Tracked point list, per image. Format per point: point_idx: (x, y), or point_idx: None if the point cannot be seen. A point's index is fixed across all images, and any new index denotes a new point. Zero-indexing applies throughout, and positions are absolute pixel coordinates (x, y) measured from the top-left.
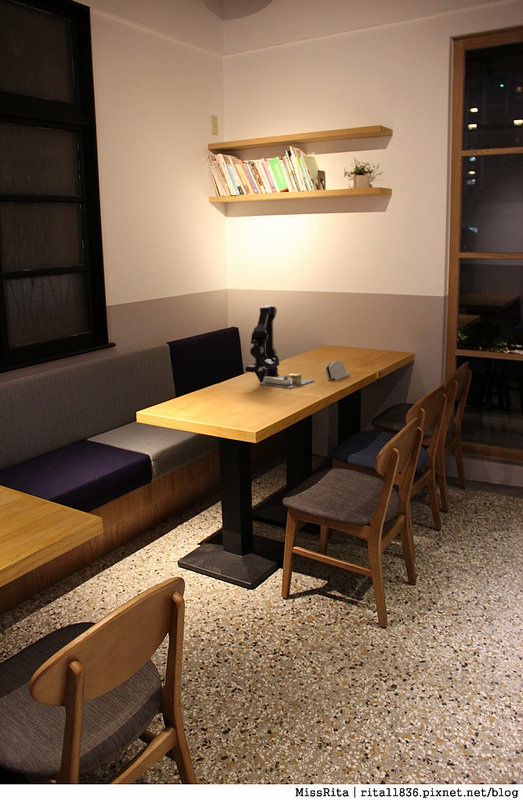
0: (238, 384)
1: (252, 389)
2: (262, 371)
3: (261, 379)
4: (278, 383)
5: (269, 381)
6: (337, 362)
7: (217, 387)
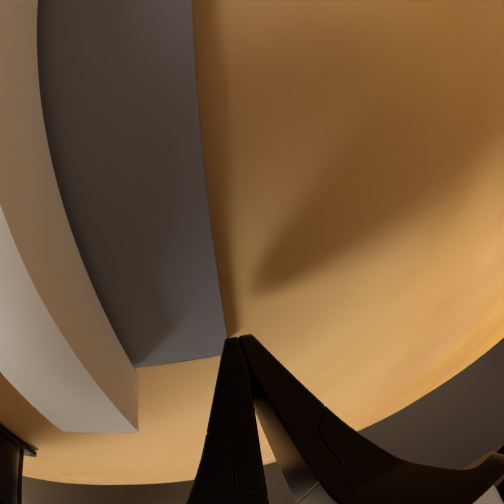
0: None
1: (464, 208)
2: (453, 494)
3: (285, 369)
4: (36, 63)
5: (92, 306)
6: None
7: (420, 391)
